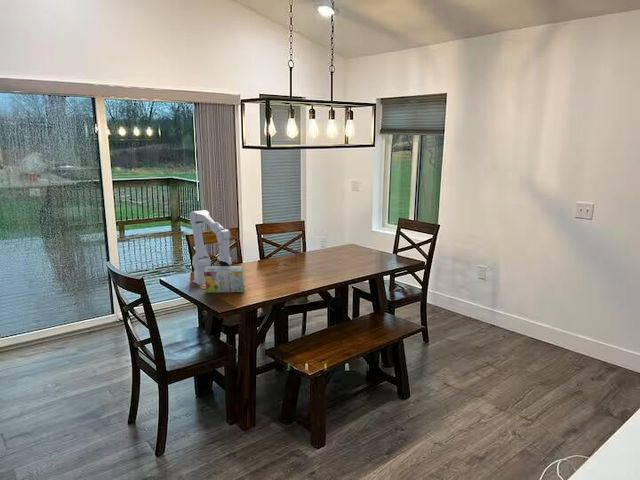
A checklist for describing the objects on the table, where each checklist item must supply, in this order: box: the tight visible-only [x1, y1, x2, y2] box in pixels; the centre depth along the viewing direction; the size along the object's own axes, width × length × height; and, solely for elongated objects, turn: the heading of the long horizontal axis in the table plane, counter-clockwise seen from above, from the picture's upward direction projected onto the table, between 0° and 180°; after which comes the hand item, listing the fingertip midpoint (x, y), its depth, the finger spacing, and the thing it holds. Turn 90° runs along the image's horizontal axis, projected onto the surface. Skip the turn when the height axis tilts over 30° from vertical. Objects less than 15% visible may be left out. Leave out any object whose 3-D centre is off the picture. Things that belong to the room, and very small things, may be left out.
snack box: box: [204, 265, 246, 293], centre depth 260 cm, size 21×6×15 cm, turn 92°
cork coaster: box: [199, 284, 206, 290], centre depth 272 cm, size 9×9×1 cm
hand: (225, 274), depth 263 cm, fingers closed
